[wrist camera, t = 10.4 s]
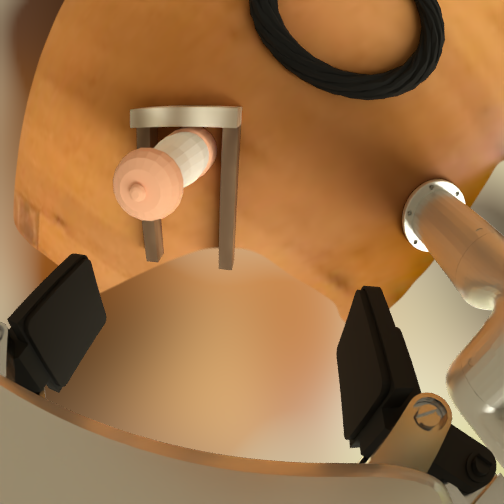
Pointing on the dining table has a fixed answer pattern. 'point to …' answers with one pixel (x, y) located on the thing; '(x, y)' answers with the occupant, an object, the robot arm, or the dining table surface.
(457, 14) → the dining table surface
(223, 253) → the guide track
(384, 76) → the cable lock
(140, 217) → the pepper shaker
